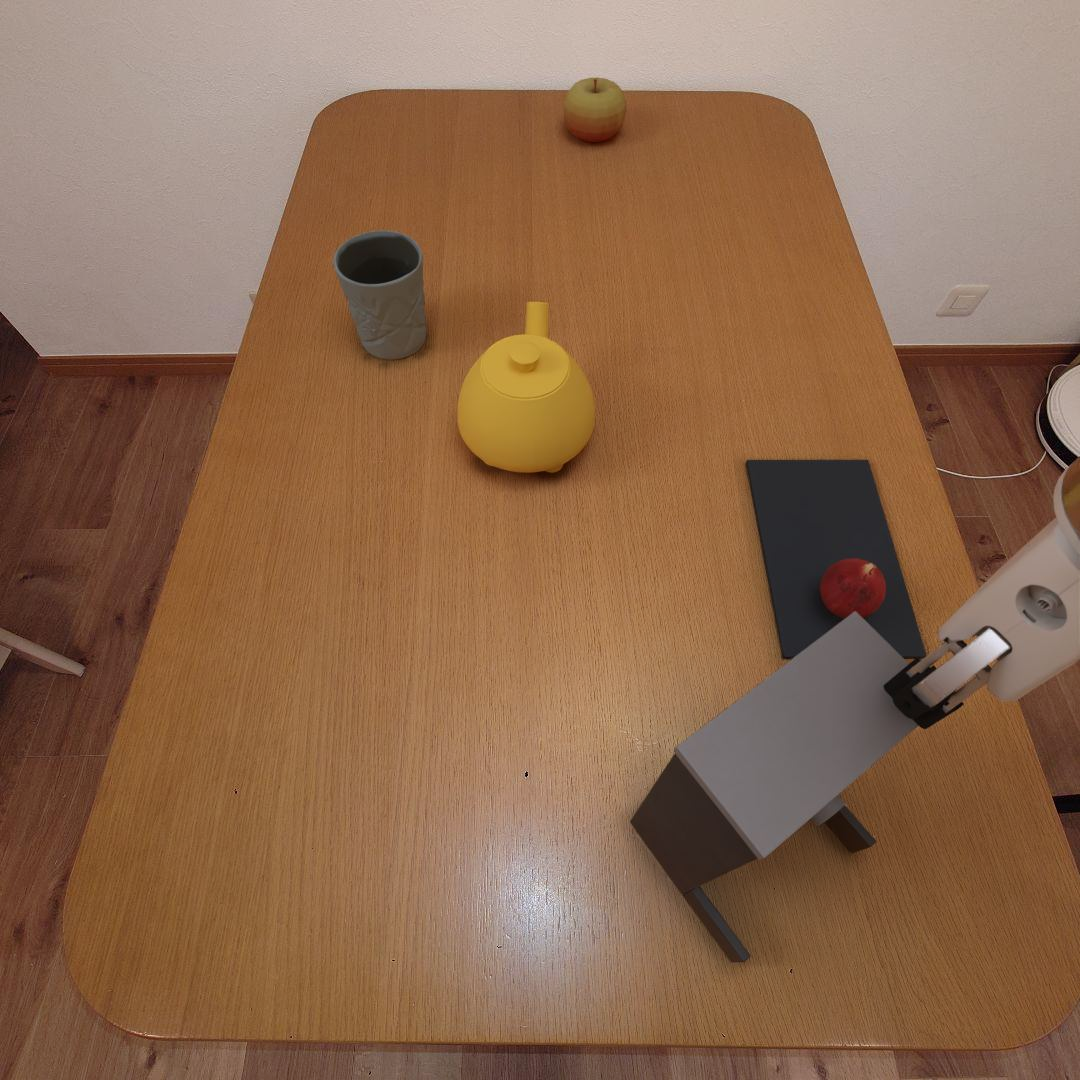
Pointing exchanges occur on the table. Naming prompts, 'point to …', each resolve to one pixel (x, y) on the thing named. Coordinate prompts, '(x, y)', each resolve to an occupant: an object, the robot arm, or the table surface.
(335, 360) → the table surface
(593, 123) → the apple
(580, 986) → the table surface
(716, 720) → the grey legged box
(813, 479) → the mat
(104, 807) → the table surface
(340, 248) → the grey cup
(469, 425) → the teapot
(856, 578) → the pomegranate
